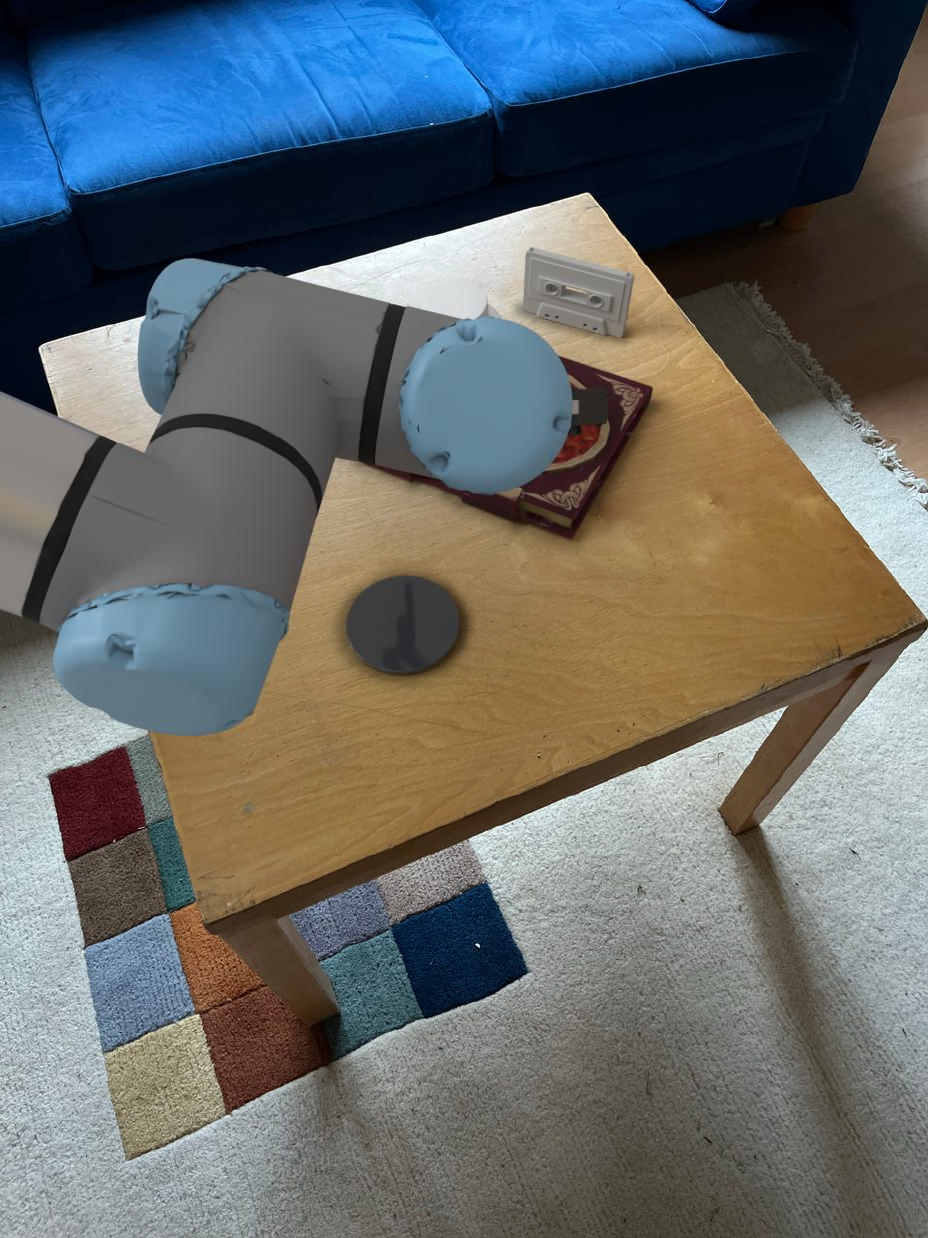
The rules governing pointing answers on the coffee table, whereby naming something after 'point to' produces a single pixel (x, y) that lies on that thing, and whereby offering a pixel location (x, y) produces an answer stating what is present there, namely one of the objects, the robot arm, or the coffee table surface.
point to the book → (567, 460)
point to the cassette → (587, 311)
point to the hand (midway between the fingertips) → (468, 413)
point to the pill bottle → (458, 299)
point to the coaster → (402, 625)
